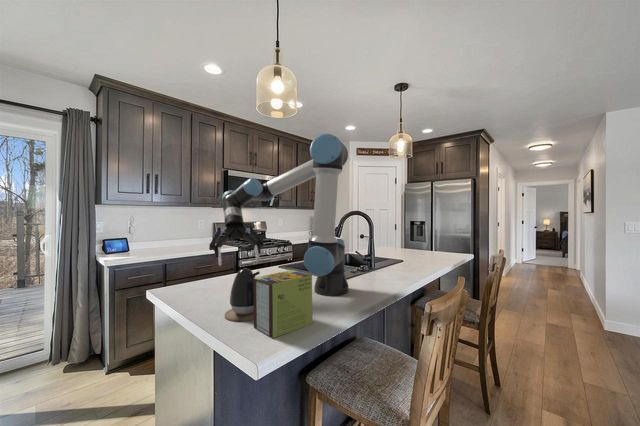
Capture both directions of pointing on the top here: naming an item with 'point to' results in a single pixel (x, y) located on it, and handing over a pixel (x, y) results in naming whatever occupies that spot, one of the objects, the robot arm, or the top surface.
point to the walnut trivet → (238, 316)
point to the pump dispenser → (243, 292)
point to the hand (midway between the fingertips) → (239, 262)
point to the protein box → (282, 302)
